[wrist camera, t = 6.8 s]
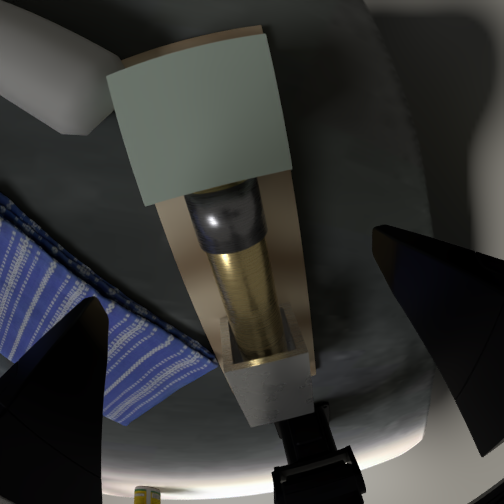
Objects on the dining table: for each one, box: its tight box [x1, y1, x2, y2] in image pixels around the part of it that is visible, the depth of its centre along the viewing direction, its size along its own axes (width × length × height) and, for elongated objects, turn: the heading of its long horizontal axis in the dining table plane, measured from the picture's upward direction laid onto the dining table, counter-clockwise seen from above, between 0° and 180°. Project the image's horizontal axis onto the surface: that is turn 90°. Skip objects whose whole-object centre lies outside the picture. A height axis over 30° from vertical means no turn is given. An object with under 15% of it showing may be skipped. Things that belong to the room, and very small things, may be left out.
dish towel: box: [0, 192, 218, 426], centre depth 21 cm, size 17×24×3 cm
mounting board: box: [121, 25, 316, 391], centre depth 20 cm, size 28×8×1 cm, turn 12°
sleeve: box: [220, 302, 314, 427], centre depth 21 cm, size 8×5×5 cm, turn 12°
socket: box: [106, 34, 293, 206], centre depth 12 cm, size 6×6×5 cm
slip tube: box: [184, 177, 288, 362], centre depth 16 cm, size 16×4×4 cm, turn 12°
